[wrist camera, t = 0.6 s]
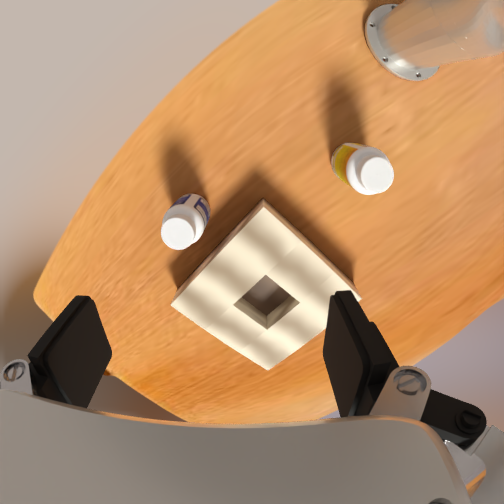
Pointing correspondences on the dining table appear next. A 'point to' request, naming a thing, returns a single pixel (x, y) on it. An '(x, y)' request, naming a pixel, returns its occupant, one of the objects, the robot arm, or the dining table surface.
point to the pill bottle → (185, 221)
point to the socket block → (263, 288)
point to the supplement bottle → (362, 168)
